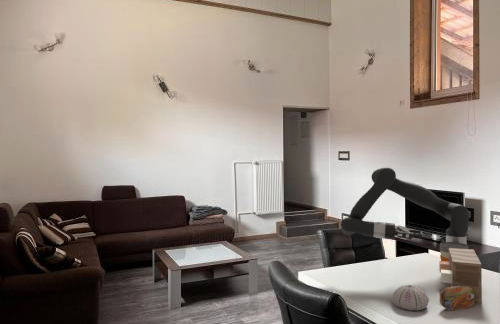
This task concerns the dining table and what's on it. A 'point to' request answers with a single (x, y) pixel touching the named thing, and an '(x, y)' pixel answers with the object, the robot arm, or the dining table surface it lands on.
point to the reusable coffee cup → (445, 249)
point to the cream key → (446, 276)
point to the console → (466, 270)
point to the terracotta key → (444, 265)
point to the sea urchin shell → (410, 298)
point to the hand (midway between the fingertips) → (421, 234)
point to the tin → (457, 297)
